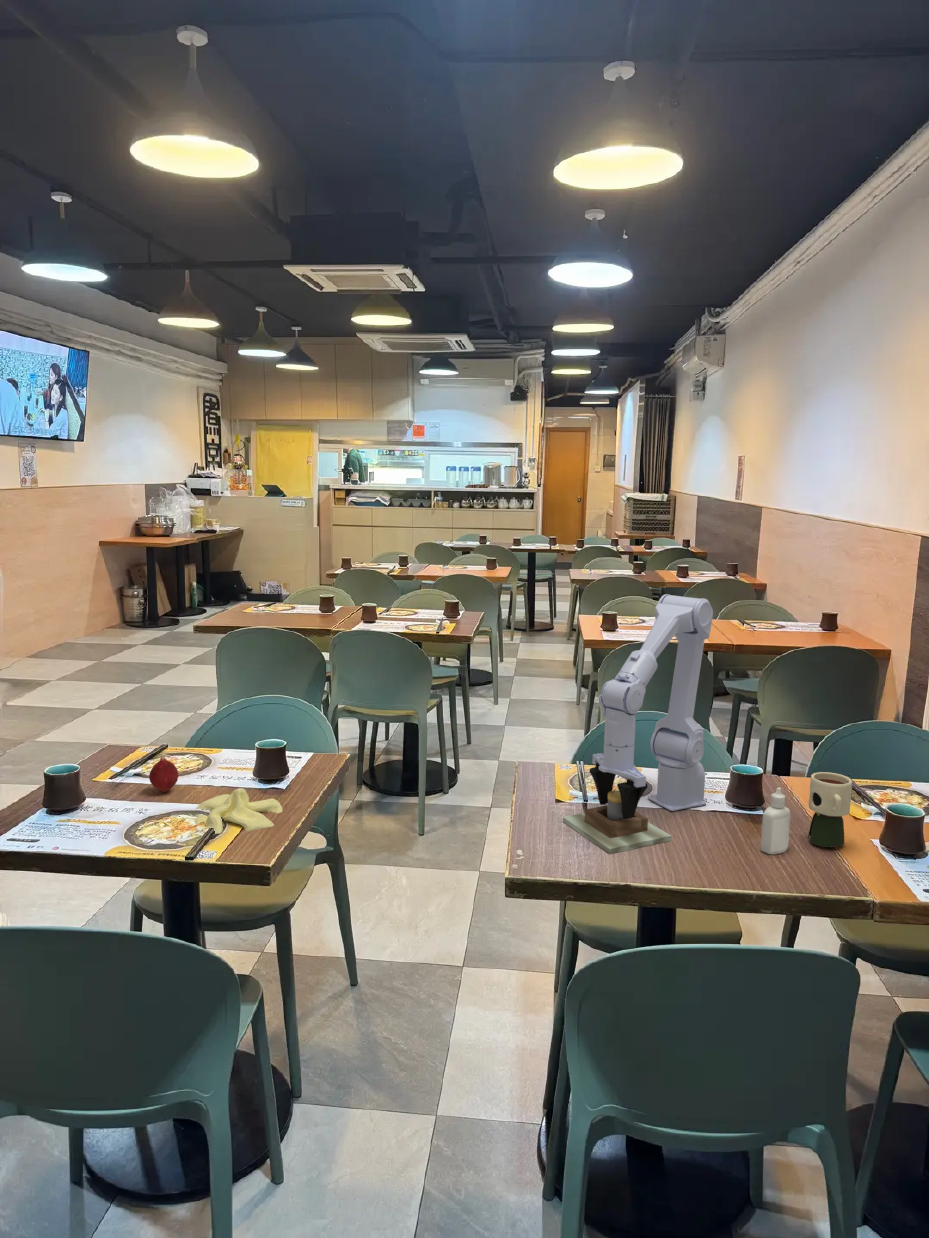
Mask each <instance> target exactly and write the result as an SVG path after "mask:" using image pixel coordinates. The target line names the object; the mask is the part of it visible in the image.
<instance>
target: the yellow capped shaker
mask: <svg viewBox="0 0 929 1238" xmlns="http://www.w3.org/2000/svg"><path fill="white" fill-rule="evenodd" d="M607 805H608V808H607V818H608V819H609V820H611V821H618V820H623V819H624V818H623V816H622V801H621V795H620V792H619V790H612V791H610V792H608V804H607Z"/></svg>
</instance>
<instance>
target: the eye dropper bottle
mask: <svg viewBox="0 0 929 1238" xmlns="http://www.w3.org/2000/svg"><path fill="white" fill-rule="evenodd" d="M762 814H763V815H762V822H761V823H762V824H761V835H760V836H761V838H760V851H761V852H762V853H765V854H767V855H780V854H783V853H784V852H786V851H787V850H788V849H789V842H790V841H789V840H790V828H791V827H790V826H791V810H790V809H789V808H788V807H786V795H784V794H783V792H782V788H781V787H776V790H775V792H773V793H771V794H770V805H769V806H768V807H767V808H766V809H765V810H764V811H763V813H762Z"/></svg>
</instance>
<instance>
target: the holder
mask: <svg viewBox="0 0 929 1238" xmlns="http://www.w3.org/2000/svg"><path fill="white" fill-rule="evenodd" d="M607 808H608V804H606V805H601V806H596V807H591V808H586V809H585V810H584V812H583V813H582V812H581V813H576V814H571V815H566V816H562V823H564V824H565V825H567V826H568V827H570V828H571V829H573V830H574V831H576V832H577V833H579V835H581V836H582V837H584V838H586V839H587V840H589V841H590V842H592V843H593V844H594V845H596V846H597V847H598V848H600V849H602V850H603V851H605V852H606V853H607V854H609V855H611V854H616V852H617V853H622V852H625V851H630V850H634V849H639V848H643V847H645V848H646V847H648V846H653V845H658V844H663V843H667V842H671V841H672V835H671V834H669V833H668V832H666V831H664V830H662V829H660V828H658V827H657V826H655V824H653V823H650V822H649V818H648V817H646V816H645V815H643V814H642V813H640V812H638V811H637V810H636V811H635V814H634V817H633V818H628V819H623V820H618V821H611V820H609V819H608V818H607Z"/></svg>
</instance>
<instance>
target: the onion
mask: <svg viewBox="0 0 929 1238" xmlns="http://www.w3.org/2000/svg"><path fill="white" fill-rule="evenodd" d="M148 778H149V783H150V784H151V785H152V787H153V788H155V789H156V790H158V791H159V792H161V793H163V792H165V793H168V792H169V790H170V789H172V788H173V787H174V786H175V785H176V784H177V782H178V779H179V771H178V768H177V766H176V765H175V764H174V763H173V762H171V761H169V760H167V759H166V757H165V756H163V755H161V756H160V758H159V761H158V762H156V763H155V764H154V765H153V766H152V768H151V769H150V772H149V777H148Z"/></svg>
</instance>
